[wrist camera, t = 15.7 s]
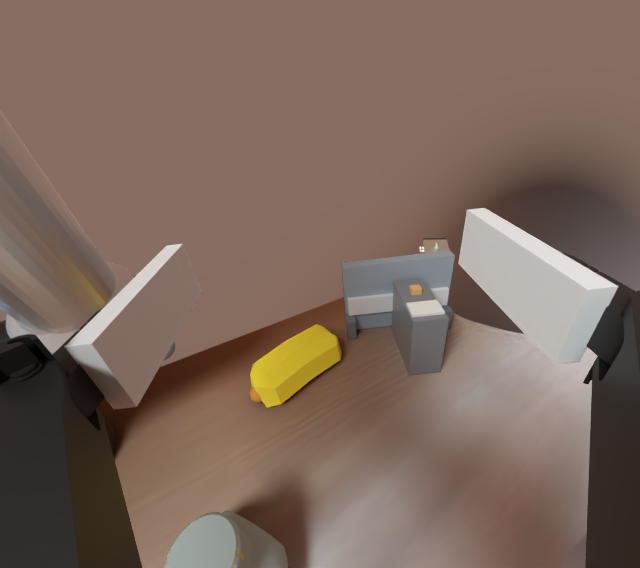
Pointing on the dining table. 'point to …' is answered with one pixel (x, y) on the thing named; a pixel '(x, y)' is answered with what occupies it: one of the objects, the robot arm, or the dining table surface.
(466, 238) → the robot arm
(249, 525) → the air freshener
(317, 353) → the yellow faceted gourd
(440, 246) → the pneumatic valve
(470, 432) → the dining table surface
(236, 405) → the dining table surface
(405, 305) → the block
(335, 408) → the dining table surface
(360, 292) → the rail panel
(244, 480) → the dining table surface
